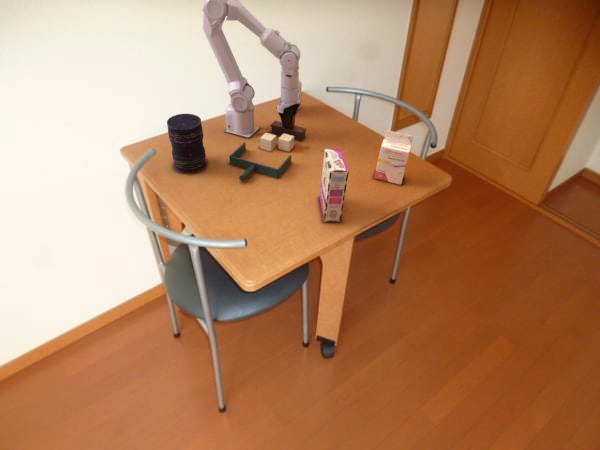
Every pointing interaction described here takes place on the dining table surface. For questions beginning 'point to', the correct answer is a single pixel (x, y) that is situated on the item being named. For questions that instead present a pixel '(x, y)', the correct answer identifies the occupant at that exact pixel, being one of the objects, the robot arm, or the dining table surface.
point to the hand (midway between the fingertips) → (288, 123)
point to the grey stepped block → (288, 129)
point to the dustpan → (255, 165)
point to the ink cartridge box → (393, 157)
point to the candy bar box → (333, 185)
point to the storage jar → (187, 143)
